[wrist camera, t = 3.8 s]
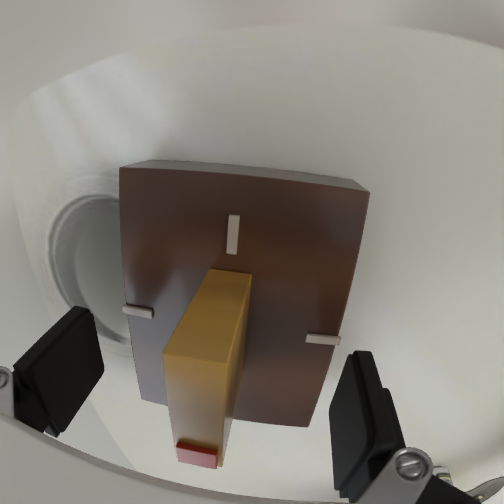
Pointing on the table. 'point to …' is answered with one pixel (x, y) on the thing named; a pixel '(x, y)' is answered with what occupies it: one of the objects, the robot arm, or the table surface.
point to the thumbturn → (207, 367)
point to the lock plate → (242, 270)
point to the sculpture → (487, 490)
